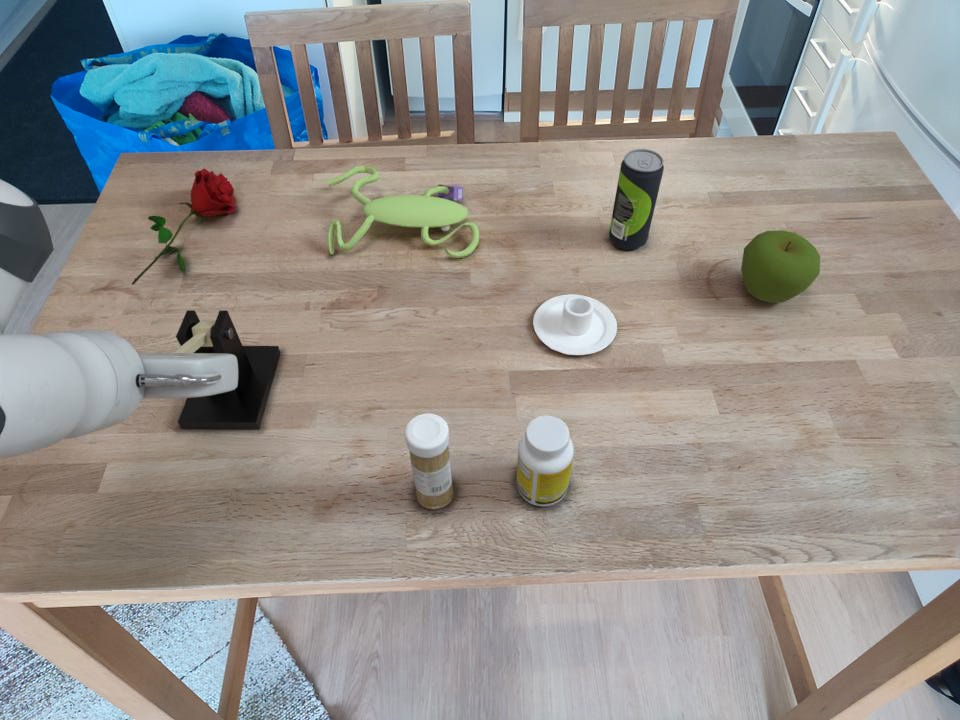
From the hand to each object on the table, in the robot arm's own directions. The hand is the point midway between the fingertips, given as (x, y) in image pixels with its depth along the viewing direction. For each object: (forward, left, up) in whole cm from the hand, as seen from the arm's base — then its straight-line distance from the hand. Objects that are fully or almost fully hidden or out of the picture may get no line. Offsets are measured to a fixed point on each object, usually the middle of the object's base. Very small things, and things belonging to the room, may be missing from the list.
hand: (164, 366), depth 71 cm
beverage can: (+65, -26, -16) cm, 72 cm away
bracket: (+8, +5, -16) cm, 18 cm away
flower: (+26, +33, -16) cm, 44 cm away
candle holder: (+43, -28, -16) cm, 54 cm away
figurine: (+48, +8, -16) cm, 51 cm away
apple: (+65, -49, -16) cm, 83 cm away
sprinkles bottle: (+10, -27, -16) cm, 33 cm away
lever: (+4, +2, -3) cm, 5 cm away
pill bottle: (+18, -37, -16) cm, 45 cm away
